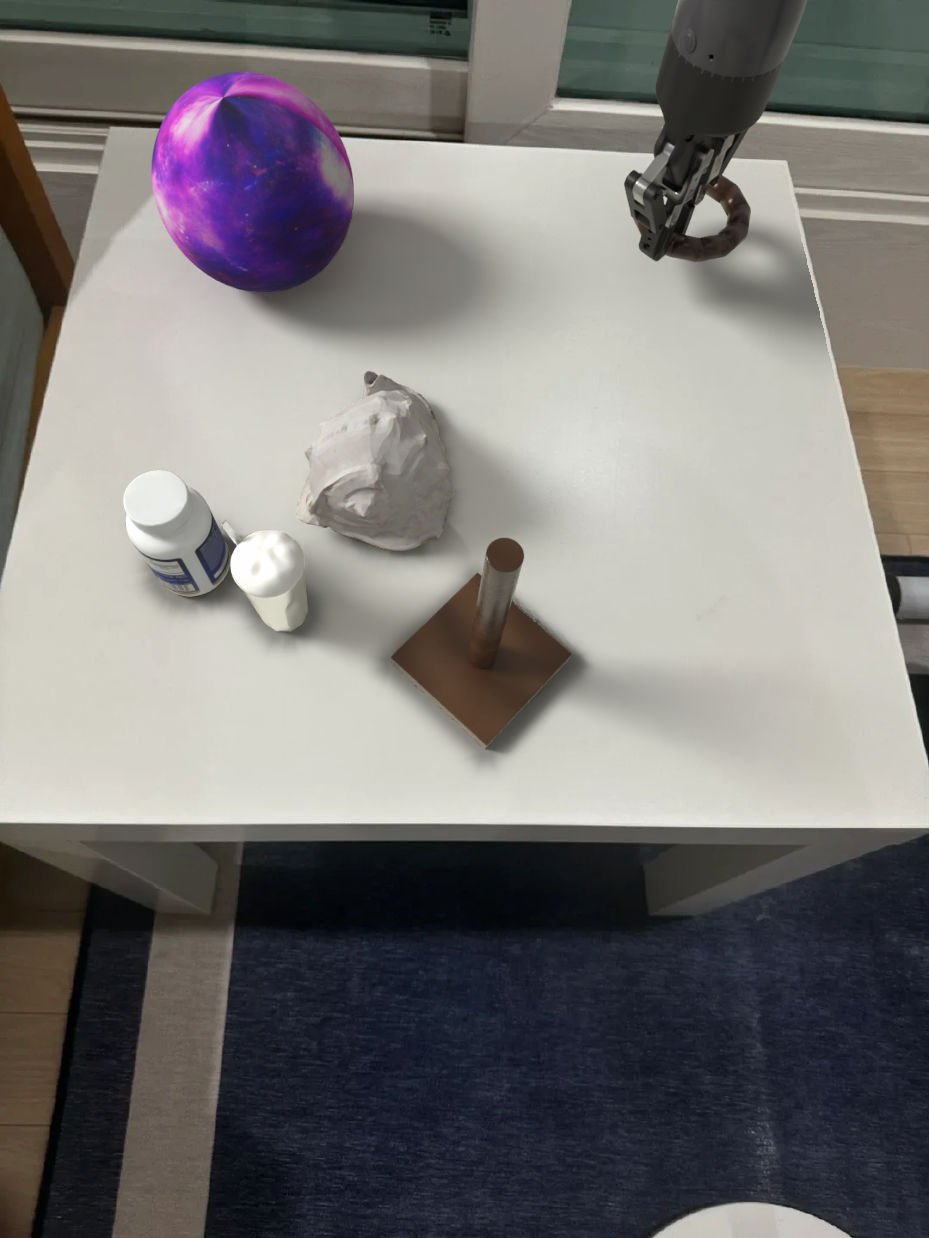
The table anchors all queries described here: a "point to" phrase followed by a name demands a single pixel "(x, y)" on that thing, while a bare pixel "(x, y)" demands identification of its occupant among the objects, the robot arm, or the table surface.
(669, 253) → the ring
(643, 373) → the table surface
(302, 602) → the milkshake
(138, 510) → the pill bottle
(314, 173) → the decorative orb
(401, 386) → the seashell
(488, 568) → the stand
